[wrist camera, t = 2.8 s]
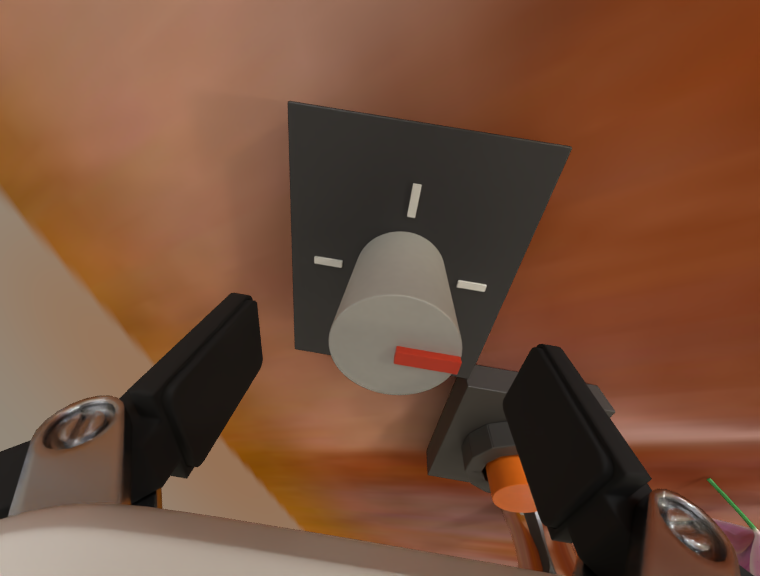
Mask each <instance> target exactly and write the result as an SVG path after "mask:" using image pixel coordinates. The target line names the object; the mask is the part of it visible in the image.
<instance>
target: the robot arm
mask: <svg viewBox="0 0 760 576" xmlns="http://www.w3.org/2000/svg"><path fill="white" fill-rule="evenodd" d="M262 361H263V357H262V347H261V337H260V327H259V318H258V308H257V302H256V301H253V300H252V297H251V296H249V295H243V294H237V293H231V294H230V295H228V296H227V297H226V298H225V299H224V300H223V301H222V302H221V303H220V304H219V305H218V306H217V307H216V308H215V309H214V310H213V311H211V312H210V313H209V314H208V315H207V316H206V317H205V318H204V319H203V320H202V321H201V322H200V323H199V324H198V325H197V326H195V327H194V328H193V329H192V330H191V331H190V332H189V333H188V334H187V335H186V336H185V337H184V338H183V339H182V340H181V341H180V342H178V343H177V344H176V345H175V346H174V347H173V348H172V349H171V350H170V351H169V352H168V353H167V354H166V355H165V356H164V357H162V358H161V359H160V360H159V361H158V362H157V363H156V364H155V365H154V366H153V367H152V368H151V369H150V370H149V371H148V372H147V373H146V374H144V375H143V376H142V377H141V378H140V379H139V380H138V381H137V382H136V383H135V384H134V385H133V386H132V387H131V388H130V389H128V390H127V392H126V393H125V394H124V395H123V396H122V397H121V398H119V399H118V398H117V397H113V396H95V397H91V398H86V399H83V400H80V401H78V402H75V403H72V404H70V405H68V406H67V407H65V408H63V409H61V410H59V411H57V412H56V413H55V414H53V415H52V416H51V417H49V418H48V419H47V420H45V422H44V423H43V424H42V425H41V426H40V427H39V428H38V429H37V430H36V432H35V434H34V435H33V437H32V439H31V440H30V441H28V442H25V443H22V444H20V445H17V446H15V447H12V448H9V449H6V450H4V451H1V452H0V576H563V575H557V574H551V573H546V572H540V571H534V570H528V569H523V568H517V567H511V566H506V565H500V564H494V563H489V562H483V561H477V560H472V559H466V558H460V557H454V556H449V555H443V554H437V553H431V552H425V551H419V550H413V549H408V548H402V547H396V546H390V545H384V544H378V543H372V542H366V541H361V540H355V539H349V538H343V537H337V536H331V535H325V534H319V533H313V532H307V531H301V530H295V529H288V528H283V527H277V526H271V525H264V524H258V523H252V522H246V521H240V520H234V519H228V518H222V517H216V516H209V515H202V514H195V513H188V512H181V511H173V510H167V509H162V492H161V488H162V487H163V485H164V484H165V483H166V481H167V480H168V478H169V477H170V476H176V477H182V478H188V476H189V474H190V473H191V471H192V470H193V468H194V467H198V466H200V465H201V464H202V463H203V461H204V460H205V458H206V457H207V455H208V453H209V452H210V450H211V448H212V447H213V445H214V443H215V442H216V440H217V439H218V437H219V435H220V434H221V432H222V430H223V429H224V427H225V426H226V424H227V422H228V421H229V419H230V417H231V416H232V414H233V412H234V411H235V409H236V408H237V406H238V404H239V403H240V401H241V399H242V398H243V396H244V394H245V393H246V391H247V390H248V388H249V386H250V385H251V383H252V381H253V380H254V378H255V376H256V375H257V373H258V372H259V370H260V368H261V365H262ZM503 411H504V414H505V417H506V420H507V423H508V426H509V429H510V432H511V435H512V437H513V440H514V443H515V446H516V449H517V452H518V455H519V458H520V461H521V464H522V467H523V470H524V473H525V476H526V479H527V482H528V485H529V488H530V491H531V494H532V497H533V500H534V503H535V506H536V509H537V512H538V515H539V518H540V520H541V522H542V523H543V524H544V525H545V526H547V528H548V531H549V534H550V537H551V540H553V541H559V542H565V543H573V544H574V546H575V549H576V551H577V558H576V562H575V566H574V569H573V573H572V576H754V575H752V574H751V573H750V572H748V571H747V570H746V569H744V568H743V567H742V566H740V565H739V562H738V558H737V555H736V552H735V549H734V547H733V545H732V544H731V542H730V540H729V539H728V537H727V535H726V534H725V533H724V532H723V531H722V529H721V528H720V527H719V526H718V525H717V523H716V522H715V521H714V520H713V519H712V518H711V517H709V516H708V515H707V514H706V513H705V512H704V511H703V510H702V509H701V508H699V507H698V506H697V505H695V504H694V503H693V502H691V501H690V500H688V499H686V498H685V497H683V496H681V495H679V494H678V493H675V492H672V491H670V490H667V489H655V490H653V491H652V490H651V488H650V487H649V485H648V484H647V482H649V481H650V480H651V479H652V478H651V477H650V476H649V474H648V473H647V471H646V470H645V468H644V467H643V465H642V464H641V463H640V461H639V460H638V458H637V457H636V455H635V454H634V452H633V451H632V450H631V448H630V447H629V445H628V444H627V442H626V441H625V439H624V438H623V437H622V435H621V434H620V432H619V431H618V429H617V428H616V426H615V425H614V424H613V422H612V421H611V419H610V418H609V416H608V415H607V413H606V412H605V411H604V409H603V408H602V406H601V405H600V403H599V402H598V400H597V399H596V398H595V396H594V395H593V393H592V392H591V390H590V389H589V387H588V386H587V385H586V383H585V382H584V380H583V379H582V377H581V376H580V374H579V373H578V371H577V370H576V369H575V367H574V366H573V364H572V363H571V361H570V360H569V358H568V357H567V356H566V354H565V353H564V351H563V350H562V349H561V348H560V347H557V346H551V345H545V344H539V345H538V346H537V347H534V348H532V349H531V351H530V352H529V354H528V356H527V358H526V360H525V361H524V363H523V365H522V367H521V369H520V370H519V372H518V374H517V376H516V378H515V379H514V381H513V383H512V385H511V387H510V388H509V390H508V392H507V394H506V396H505V397H504V400H503Z"/></svg>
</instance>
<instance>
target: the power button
mask: <svg viewBox="0 0 760 576" xmlns="http://www.w3.org/2000/svg"><path fill="white" fill-rule="evenodd" d="M486 473H487V477H488V482H489V487H490V491H491V496H492V500H493V502H494V504H495V505H496V506H498V507H499V508H501V509H503V510H506V511H510V512H517V513H530V512H537V509H536V506H535V503H534V500H533V497H532V494H531V491H530V488H529V485H528V482H527V479H526V476H525V473H524V470H523V467H522V464H521V461H520V458H519V455H510V456H501V457H499V458H497V459H495V460H493V461H490V462H488V463H487V464H486Z"/></svg>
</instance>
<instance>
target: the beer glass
mask: <svg viewBox="0 0 760 576" xmlns="http://www.w3.org/2000/svg"><path fill="white" fill-rule="evenodd" d="M502 513H503V516H504V518H505V521H506V523H507V526H508V529H509V531H510V534H511V537H512V540H513V543H514V547H515V551H516V556H517V561H518V568H523V569H528V570H534V571H540V572H546V573H551V574H557V575H563V576H572V573H573V569H574V566H575V562H576V558H577V556H576V553H575V551H574V549H573V546H572V543H565V542H559V541H553V540H551V537H550V534H549V531H548V528H547V526H545V525H544V524H543V523H542V522H541V520H540V518H539V515H538V512H530V513H517V512H510V511H506V510H503V509H502Z"/></svg>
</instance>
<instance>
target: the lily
mask: <svg viewBox="0 0 760 576" xmlns="http://www.w3.org/2000/svg"><path fill="white" fill-rule="evenodd" d="M707 481H708V482H709V483H710V484H711V485H712V486H713V487H714V488H715V489H716V490H717V491H718V492H719V493H720V494H721V495H722V496H723V497H724V499H725V500H726V501H727V502H728V503H729V504H730V505H731V506H732V507H733V508H734V509H735V510H736V512H737V513H738V514H739V515H740V516H741V517H742V518H743V519H744V520H745V522H746V523H747V524H748V525H749V527H750V528H748V527H744V526H740V525H737V524H733V523H729V522H725V521H721V520H717V519H713V520H714V521H715V522H716V523H717V525H718V526H719V527H720V528H721V529H722V531H723V532H724V533H725V534H726V535H727V537H728V539H729V540H730V542H731V544H732V545H733V547H734V549H735V552H736V555H737V558H738V562H739V565H740V566H742V567H743V568H744V569H746V570H747V571H748V572H750V573H751V574H752V575H754V576H760V530H758V529H757V528H756V527H755V526H754V525H753V524H752V522H751V521H750V520H749V519H748V518H747V517H746V516H745V515H744V514H743V512H742V511H741V510H740V509H739V508H738V507H737V506H736V505H735V504H734V503H733V502H732V501H731V500H730V498H729V497H728V496H727V495H726V494H725V493H724V492H723V491H722V490H721V489H720V488H719V487H718V486H717V485H716V484H715V483H714V482H713V481H712V480H711V479H710V478H708V479H707Z"/></svg>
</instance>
